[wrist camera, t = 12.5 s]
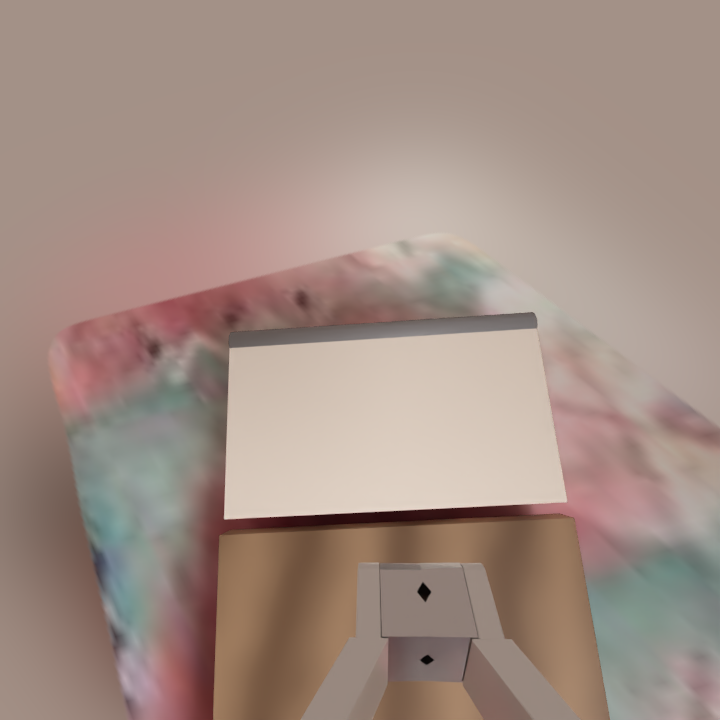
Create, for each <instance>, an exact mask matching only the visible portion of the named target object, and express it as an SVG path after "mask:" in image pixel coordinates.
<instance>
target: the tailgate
mask: <svg viewBox="0 0 720 720" xmlns="http://www.w3.org/2000/svg"><path fill="white" fill-rule="evenodd" d="M229 348H230V349H229V380H228V411H227V442H226V473H225V504H224V519H243V518H263V517H283V516H303V515H322V514H342V513H362V512H382V511H402V510H422V509H442V508H462V507H482V506H502V505H522V504H542V503H561V502H567V497H566V491H565V485H564V479H563V474H562V468H561V462H560V457H559V451H558V445H557V440H556V434H555V428H554V423H553V417H552V411H551V405H550V400H549V394H548V388H547V383H546V377H545V371H544V366H543V360H542V354H541V349H540V343H539V337H538V331H537V318H536V316H535V314H534V313H533V312H530V313H515V314H500V315H485V316H469V317H454V318H439V319H424V320H409V321H394V322H378V323H363V324H348V325H333V326H318V327H303V328H287V329H272V330H257V331H242V332H231V333H230V335H229Z"/></svg>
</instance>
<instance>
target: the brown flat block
mask: <svg viewBox="0 0 720 720" xmlns="http://www.w3.org/2000/svg"><path fill="white" fill-rule="evenodd" d="M359 563H481V564H482V565H483V566H484V568H485V570H486V574H487V577H488V581H489V584H490V588H491V592H492V595H493V599H494V602H495V606H496V609H497V613H498V616H499V620H500V623H501V627H502V631H503V634H504V638H505V639H512V640H513V642H514V643H515V644H516V645H517V646H518V647H519V649H520V650H521V651H522V652H523V653H524V654H525V656H526V657H527V658H528V659H529V660H530V661H531V662H532V664H533V665H534V666H535V667H536V668H537V669H538V671H539V672H540V673H541V674H542V675H543V676H544V678H545V679H546V680H547V681H548V682H549V683H550V685H551V686H552V687H553V688H554V689H555V690H556V692H557V693H558V694H559V695H560V696H561V697H562V699H563V700H564V701H565V702H566V703H567V704H568V706H569V707H570V708H571V709H572V710H573V711H574V712H575V714H576V715H577V716H578V717H579V718H580V719H581V720H610V717H609V711H608V705H607V700H606V694H605V689H604V683H603V677H602V672H601V666H600V660H599V655H598V649H597V644H596V638H595V632H594V627H593V621H592V615H591V610H590V604H589V598H588V593H587V587H586V582H585V576H584V570H583V565H582V559H581V553H580V548H579V542H578V536H577V531H576V525H575V520H574V518H572V517H569V516H566V515H563V514H541V515H521V516H501V517H480V518H460V519H440V520H419V521H399V522H379V523H359V524H338V525H318V526H298V527H277V528H257V529H237V530H230V531H227V532H225V533H223V534H221V535H219V559H218V588H217V617H216V646H215V675H214V705H213V720H301V718H302V716H303V715H304V713H305V711H306V710H307V708H308V706H309V705H310V703H311V701H312V700H313V698H314V696H315V695H316V693H317V691H318V689H319V688H320V686H321V684H322V683H323V681H324V679H325V678H326V676H327V674H328V673H329V671H330V669H331V668H332V666H333V664H334V663H335V661H336V659H337V657H338V656H339V654H340V652H341V651H342V649H343V647H344V646H345V644H346V642H347V641H348V639H349V637H356V609H357V574H358V564H359ZM372 720H484V719H483V717H482V716H481V714H480V712H479V711H478V709H477V707H476V706H475V704H474V703H473V701H472V699H471V698H470V696H469V695H468V693H467V691H466V690H465V688H464V687H463V683H461V682H439V681H388V685H387V687H386V689H385V692H384V694H383V696H382V699H381V701H380V703H379V705H378V708H377V710H376V712H375V715H374V717H373V719H372Z"/></svg>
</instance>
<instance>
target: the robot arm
mask: <svg viewBox="0 0 720 720" xmlns="http://www.w3.org/2000/svg"><path fill="white" fill-rule="evenodd" d="M388 681H439V682H461V683H463V687H464V688H465V690H466V691H467V693H468V695H469V696H470V698H471V699H472V701H473V703H474V704H475V706H476V707H477V709H478V711H479V712H480V714H481V716H482V717H483V719H484V720H581V719H580V718H579V717H578V716H577V715H576V714H575V712H574V711H573V710H572V709H571V708H570V707H569V706H568V704H567V703H566V702H565V701H564V700H563V699H562V697H561V696H560V695H559V694H558V693H557V692H556V690H555V689H554V688H553V687H552V686H551V685H550V683H549V682H548V681H547V680H546V679H545V678H544V676H543V675H542V674H541V673H540V672H539V671H538V669H537V668H536V667H535V666H534V665H533V664H532V662H531V661H530V660H529V659H528V658H527V657H526V656H525V654H524V653H523V652H522V651H521V650H520V649H519V647H518V646H517V645H516V644H515V643H514V642H513V640H512V639H505V638H504V634H503V631H502V627H501V623H500V620H499V616H498V613H497V609H496V606H495V602H494V599H493V595H492V592H491V588H490V584H489V581H488V577H487V574H486V570H485V568H484V566H483V565H482V564H481V563H359V564H358V574H357V609H356V637H349V639H348V641H347V642H346V644H345V646H344V647H343V649H342V651H341V652H340V654H339V656H338V657H337V659H336V661H335V663H334V664H333V666H332V668H331V669H330V671H329V673H328V674H327V676H326V678H325V679H324V681H323V683H322V684H321V686H320V688H319V689H318V691H317V693H316V695H315V696H314V698H313V700H312V701H311V703H310V705H309V706H308V708H307V710H306V711H305V713H304V715H303V716H302V718H301V720H372V719H373V717H374V715H375V712H376V710H377V708H378V705H379V703H380V701H381V699H382V696H383V694H384V692H385V689H386V687H387V685H388Z"/></svg>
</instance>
